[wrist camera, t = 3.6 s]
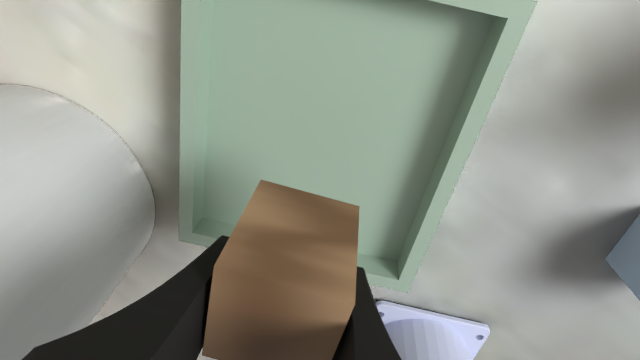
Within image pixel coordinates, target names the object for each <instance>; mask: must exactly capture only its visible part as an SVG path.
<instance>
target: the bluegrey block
mask: <svg viewBox="0 0 640 360" xmlns="http://www.w3.org/2000/svg"><path fill="white" fill-rule="evenodd" d="M605 260H606V261H607V262H608V263H609V265H610V266H611V267H612V268H613V269H614V270H615V272H616V273H617V274H618V275H619V276H620V278H621V279H622V280H623V281H624V282H625V284H626V285H627V286H628V287H629V288H630V289H631V291H632V292H633V293H634V294H635V295H636V297H637V298H638V299H639V300H640V214H639V215H638V217H637V218H636V219H635V221H634V222H633V223H632V225H631V226H630V227H629V228H628V230H627V231H626V232H625V234H624V235H623V236H622V238H621V239H620V240H619V242H618V243H617V244H616V245H615V247H614V248H613V249H612V251H611V252H610V253H609V255H608V256H607V257H606V259H605Z"/></svg>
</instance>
